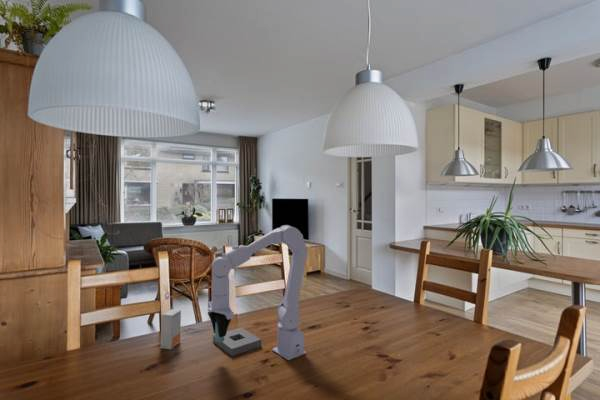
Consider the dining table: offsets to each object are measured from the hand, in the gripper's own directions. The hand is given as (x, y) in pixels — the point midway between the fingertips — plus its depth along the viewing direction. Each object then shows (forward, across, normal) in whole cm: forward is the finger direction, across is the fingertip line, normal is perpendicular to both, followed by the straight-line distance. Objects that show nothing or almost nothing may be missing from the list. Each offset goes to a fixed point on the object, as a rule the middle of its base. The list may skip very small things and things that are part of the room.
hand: (219, 334), depth 108 cm
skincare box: (+8, -20, -9) cm, 23 cm away
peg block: (+8, -6, +10) cm, 14 cm away
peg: (+2, 0, 0) cm, 2 cm away
